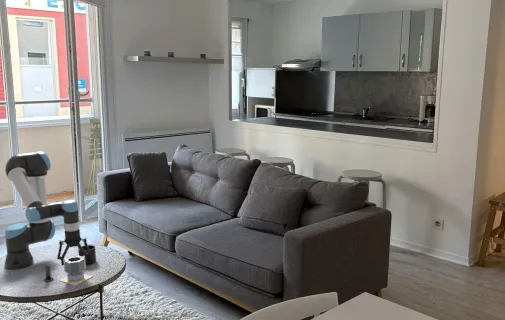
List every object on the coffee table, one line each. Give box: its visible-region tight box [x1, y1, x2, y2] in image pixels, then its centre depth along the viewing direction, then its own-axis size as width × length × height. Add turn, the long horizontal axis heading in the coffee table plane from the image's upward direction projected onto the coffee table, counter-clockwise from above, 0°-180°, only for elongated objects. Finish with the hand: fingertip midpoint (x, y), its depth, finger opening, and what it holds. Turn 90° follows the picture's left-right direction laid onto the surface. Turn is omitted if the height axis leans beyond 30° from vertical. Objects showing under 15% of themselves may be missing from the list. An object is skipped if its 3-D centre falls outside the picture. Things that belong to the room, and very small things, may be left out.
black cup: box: [77, 244, 97, 266], centre depth 282 cm, size 9×12×9 cm
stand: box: [43, 264, 54, 283], centre depth 259 cm, size 5×5×8 cm
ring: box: [65, 255, 85, 274], centre depth 259 cm, size 9×9×6 cm
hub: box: [58, 270, 93, 286], centre depth 260 cm, size 12×12×9 cm
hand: (75, 269), depth 260 cm, fingers closed on ring, 9 cm apart
